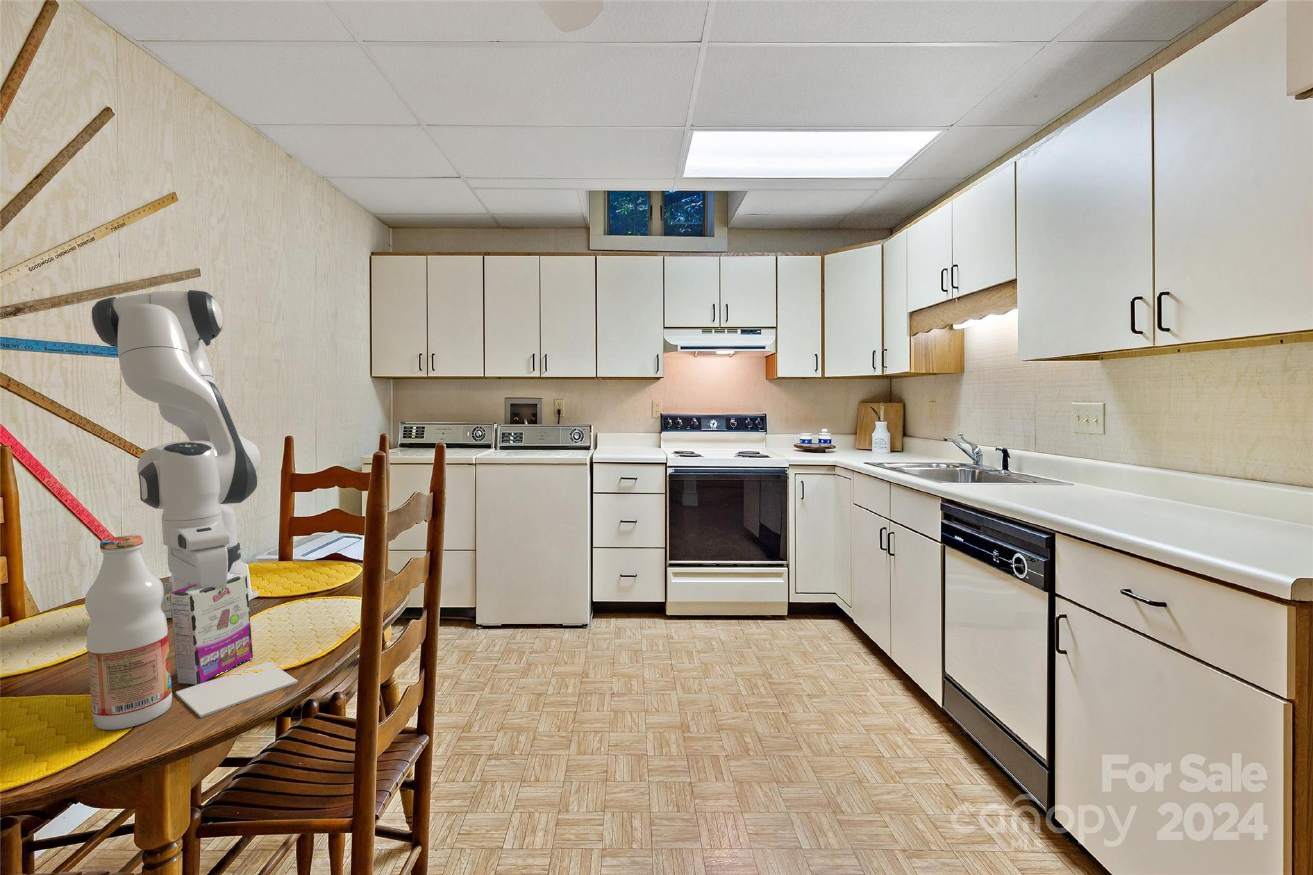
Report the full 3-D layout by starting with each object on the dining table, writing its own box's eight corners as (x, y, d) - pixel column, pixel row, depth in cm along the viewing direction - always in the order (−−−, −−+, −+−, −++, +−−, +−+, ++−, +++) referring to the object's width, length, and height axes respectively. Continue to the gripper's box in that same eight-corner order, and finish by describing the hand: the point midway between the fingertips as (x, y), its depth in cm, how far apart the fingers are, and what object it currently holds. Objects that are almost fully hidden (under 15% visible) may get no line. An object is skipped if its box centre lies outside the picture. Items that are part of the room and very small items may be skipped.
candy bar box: (231, 656, 115) (226, 571, 114) (254, 658, 114) (249, 573, 113) (174, 684, 104) (167, 591, 103) (198, 687, 103) (192, 593, 102)
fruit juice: (75, 728, 91) (60, 545, 88) (139, 697, 100) (127, 530, 98) (128, 734, 89) (114, 548, 87) (188, 702, 98) (177, 532, 96)
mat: (175, 693, 101) (175, 691, 101) (269, 663, 112) (269, 661, 112) (200, 717, 94) (200, 715, 94) (297, 682, 105) (297, 680, 105)
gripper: (155, 526, 115) (160, 597, 116) (190, 543, 103) (195, 622, 104) (195, 520, 120) (199, 588, 121) (233, 536, 108) (238, 611, 109)
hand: (198, 604), depth 113 cm, fingers closed
